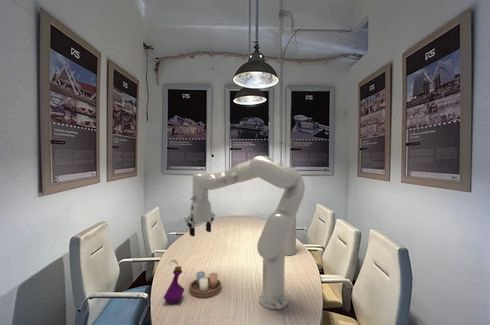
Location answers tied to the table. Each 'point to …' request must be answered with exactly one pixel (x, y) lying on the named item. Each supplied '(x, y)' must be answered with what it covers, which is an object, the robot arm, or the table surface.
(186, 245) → the table surface
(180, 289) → the perfume bottle
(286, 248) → the cylinder vase
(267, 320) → the table surface
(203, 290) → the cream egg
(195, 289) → the groove tray
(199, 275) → the bead slate
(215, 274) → the bead terracotta
